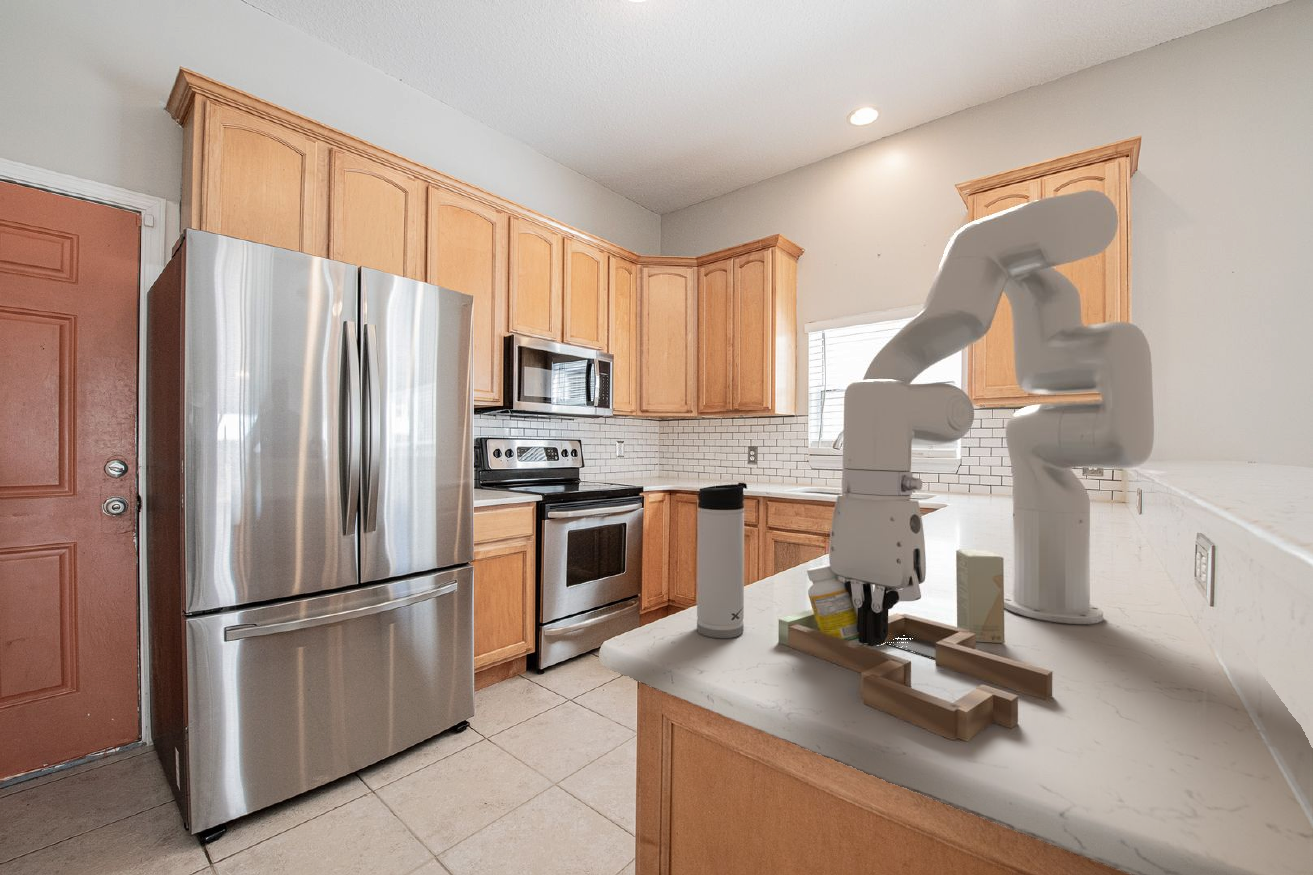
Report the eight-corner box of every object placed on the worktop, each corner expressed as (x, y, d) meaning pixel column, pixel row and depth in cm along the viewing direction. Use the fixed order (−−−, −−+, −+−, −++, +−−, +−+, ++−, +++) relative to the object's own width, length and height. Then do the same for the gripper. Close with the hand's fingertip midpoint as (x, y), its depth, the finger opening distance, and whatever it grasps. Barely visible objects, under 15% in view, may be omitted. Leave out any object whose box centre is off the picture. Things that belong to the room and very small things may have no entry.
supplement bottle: (858, 648, 64) (833, 566, 66) (817, 652, 67) (793, 573, 69) (874, 636, 68) (850, 558, 70) (834, 640, 71) (812, 566, 74)
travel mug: (749, 639, 72) (750, 484, 72) (698, 638, 72) (699, 484, 72) (742, 623, 78) (743, 481, 78) (695, 623, 78) (696, 481, 78)
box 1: (853, 617, 81) (853, 596, 81) (1072, 679, 60) (1072, 652, 60) (744, 653, 67) (744, 628, 67) (981, 752, 46) (981, 715, 46)
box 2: (1005, 644, 70) (1005, 557, 71) (968, 641, 71) (968, 555, 71) (989, 630, 76) (989, 549, 76) (955, 628, 76) (955, 548, 77)
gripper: (956, 489, 62) (952, 655, 61) (838, 481, 73) (834, 620, 73) (924, 491, 57) (920, 670, 57) (803, 481, 69) (799, 630, 68)
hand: (872, 642), depth 65 cm, fingers closed
